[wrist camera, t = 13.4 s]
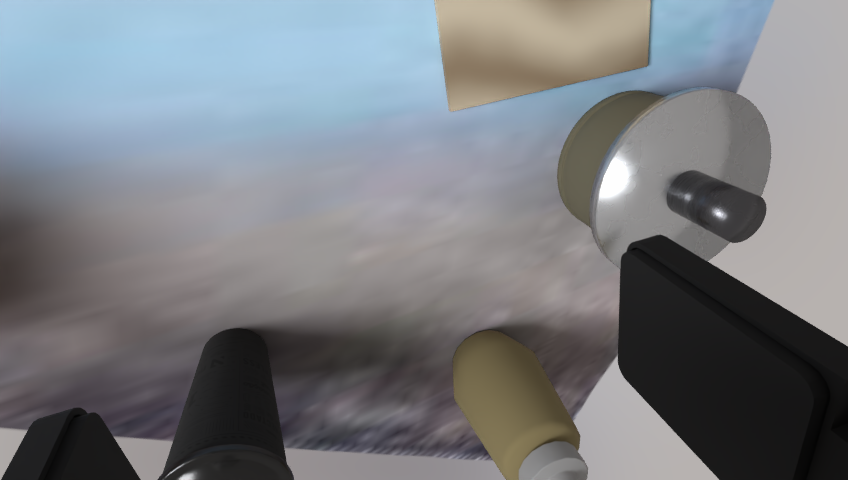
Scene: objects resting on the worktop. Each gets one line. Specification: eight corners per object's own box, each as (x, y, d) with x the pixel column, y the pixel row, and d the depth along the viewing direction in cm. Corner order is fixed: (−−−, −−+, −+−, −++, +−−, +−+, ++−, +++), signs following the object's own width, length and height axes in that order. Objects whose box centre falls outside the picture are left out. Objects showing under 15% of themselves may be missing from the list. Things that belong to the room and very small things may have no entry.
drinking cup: (298, 322, 41) (324, 565, 23) (270, 397, 43) (275, 669, 26) (196, 303, 38) (140, 566, 20) (172, 385, 40) (103, 683, 23)
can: (706, 131, 44) (776, 152, 38) (623, 246, 47) (676, 283, 41) (614, 58, 39) (677, 70, 33) (527, 193, 42) (571, 226, 36)
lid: (590, 110, 32) (652, 133, 27) (774, 68, 35) (864, 81, 30) (588, 293, 39) (638, 340, 34) (743, 247, 41) (813, 283, 36)
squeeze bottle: (434, 393, 48) (517, 586, 32) (446, 320, 45) (544, 495, 29) (512, 385, 50) (624, 561, 35) (529, 316, 47) (660, 475, 32)
